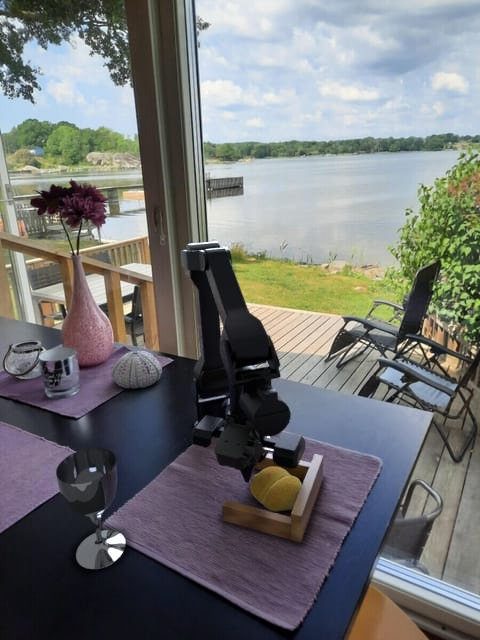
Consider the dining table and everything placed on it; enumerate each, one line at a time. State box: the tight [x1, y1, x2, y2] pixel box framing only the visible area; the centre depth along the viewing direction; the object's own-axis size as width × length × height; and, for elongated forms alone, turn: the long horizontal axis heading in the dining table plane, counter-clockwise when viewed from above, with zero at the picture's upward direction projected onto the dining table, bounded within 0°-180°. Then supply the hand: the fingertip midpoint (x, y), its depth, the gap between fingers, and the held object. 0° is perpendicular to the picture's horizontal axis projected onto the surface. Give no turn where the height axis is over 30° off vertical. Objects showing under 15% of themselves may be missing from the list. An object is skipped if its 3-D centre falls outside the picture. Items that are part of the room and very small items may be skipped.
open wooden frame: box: [221, 452, 324, 543], centre depth 74 cm, size 13×15×5 cm
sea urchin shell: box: [110, 350, 163, 390], centre depth 117 cm, size 13×14×8 cm
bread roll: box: [250, 467, 303, 513], centre depth 75 cm, size 8×9×4 cm
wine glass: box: [55, 447, 127, 570], centre depth 63 cm, size 8×8×15 cm
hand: (248, 481), depth 77 cm, fingers closed
